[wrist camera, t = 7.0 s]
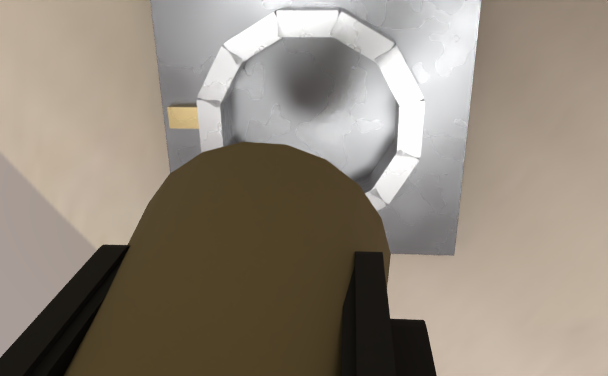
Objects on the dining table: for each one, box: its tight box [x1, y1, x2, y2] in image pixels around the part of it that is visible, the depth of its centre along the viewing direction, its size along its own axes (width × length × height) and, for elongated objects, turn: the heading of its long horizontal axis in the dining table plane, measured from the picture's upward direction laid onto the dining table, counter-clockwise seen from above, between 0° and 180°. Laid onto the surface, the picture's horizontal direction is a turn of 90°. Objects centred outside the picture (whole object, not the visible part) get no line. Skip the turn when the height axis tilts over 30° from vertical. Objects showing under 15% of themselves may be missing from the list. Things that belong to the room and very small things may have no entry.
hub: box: [150, 0, 481, 255], centre depth 24 cm, size 14×14×3 cm
